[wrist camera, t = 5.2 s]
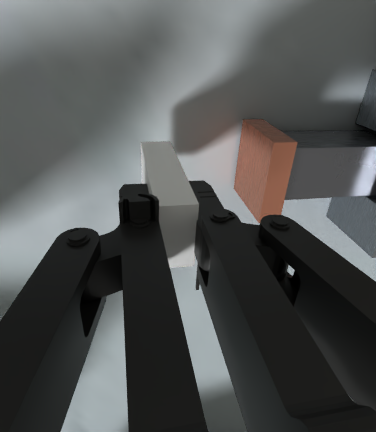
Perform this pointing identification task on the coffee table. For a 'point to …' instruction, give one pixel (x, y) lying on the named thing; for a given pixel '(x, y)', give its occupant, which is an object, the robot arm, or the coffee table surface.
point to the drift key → (301, 166)
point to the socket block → (359, 205)
